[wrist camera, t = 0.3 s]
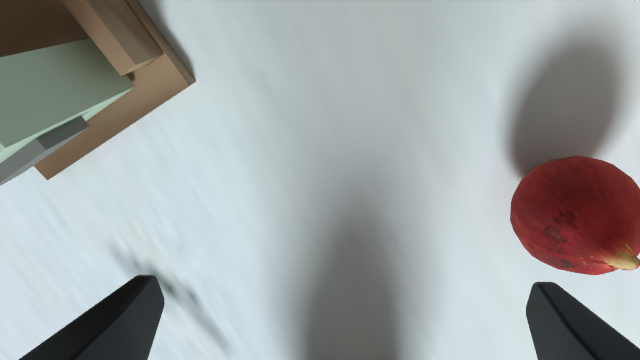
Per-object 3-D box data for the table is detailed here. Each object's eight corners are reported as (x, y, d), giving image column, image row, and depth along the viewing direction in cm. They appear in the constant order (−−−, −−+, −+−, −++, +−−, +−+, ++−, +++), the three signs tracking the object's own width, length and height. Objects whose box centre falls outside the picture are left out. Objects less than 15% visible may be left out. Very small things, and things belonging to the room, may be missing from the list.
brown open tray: (195, 81, 23) (156, 106, 18) (58, 173, 26) (-4, 212, 22) (41, -133, 19) (-57, -167, 14) (-96, 10, 22) (-209, 17, 18)
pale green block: (142, 95, 22) (18, 161, 14) (59, 152, 24) (-90, 239, 16) (96, 36, 21) (-68, 72, 13) (13, 102, 23) (-173, 168, 15)
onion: (518, 237, 26) (580, 337, 18) (475, 170, 24) (525, 252, 17) (613, 192, 24) (723, 284, 16) (574, 115, 22) (678, 181, 15)
